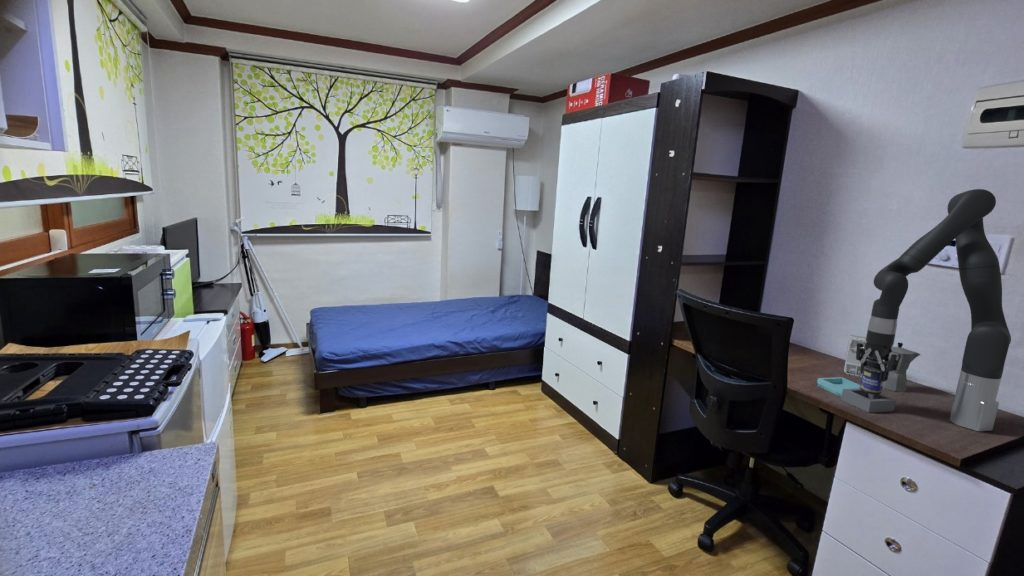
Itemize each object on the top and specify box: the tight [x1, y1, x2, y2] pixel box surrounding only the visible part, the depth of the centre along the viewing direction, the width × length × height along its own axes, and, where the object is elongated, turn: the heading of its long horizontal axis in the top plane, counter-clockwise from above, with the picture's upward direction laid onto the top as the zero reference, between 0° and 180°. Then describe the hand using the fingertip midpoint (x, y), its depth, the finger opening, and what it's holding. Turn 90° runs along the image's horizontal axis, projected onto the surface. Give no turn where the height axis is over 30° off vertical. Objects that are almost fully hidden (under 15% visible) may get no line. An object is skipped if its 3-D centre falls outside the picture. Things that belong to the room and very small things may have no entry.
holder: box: [840, 388, 897, 414], centre depth 165 cm, size 10×10×4 cm
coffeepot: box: [873, 342, 921, 393], centre depth 183 cm, size 15×9×18 cm, turn 67°
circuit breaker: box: [843, 334, 867, 378], centre depth 200 cm, size 8×14×15 cm, turn 146°
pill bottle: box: [859, 359, 883, 395], centre depth 163 cm, size 6×6×11 cm
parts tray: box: [816, 376, 860, 398], centre depth 178 cm, size 11×11×3 cm
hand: (872, 377), depth 163 cm, fingers closed on pill bottle, 6 cm apart
